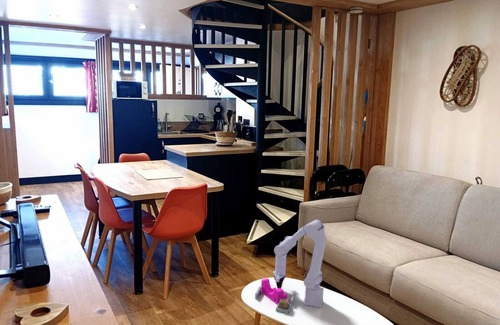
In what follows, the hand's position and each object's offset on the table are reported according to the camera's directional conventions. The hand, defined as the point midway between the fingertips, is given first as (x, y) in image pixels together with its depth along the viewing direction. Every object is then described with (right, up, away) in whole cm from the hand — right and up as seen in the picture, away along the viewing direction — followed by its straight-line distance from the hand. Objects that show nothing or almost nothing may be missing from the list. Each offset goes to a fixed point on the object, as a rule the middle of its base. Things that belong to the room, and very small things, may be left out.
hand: (279, 288), depth 219 cm
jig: (-4, -3, -13) cm, 14 cm away
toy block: (-4, -3, -7) cm, 9 cm away
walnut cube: (+1, -4, -19) cm, 19 cm away
